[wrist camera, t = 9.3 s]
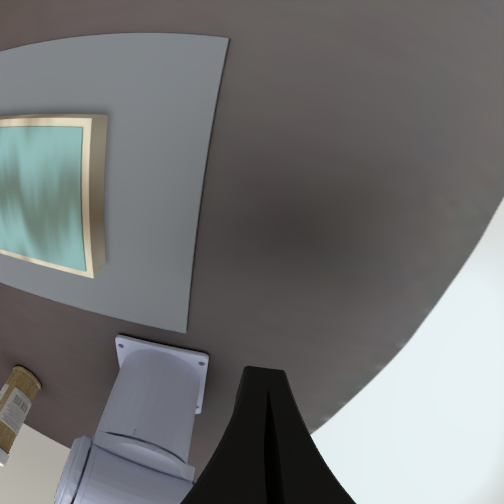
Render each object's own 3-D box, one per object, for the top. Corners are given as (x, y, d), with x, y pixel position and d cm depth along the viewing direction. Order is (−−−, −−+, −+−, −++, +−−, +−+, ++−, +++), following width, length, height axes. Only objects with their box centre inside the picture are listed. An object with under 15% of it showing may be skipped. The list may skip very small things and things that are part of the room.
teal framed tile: (92, 279, 18) (-16, 249, 17) (105, 262, 20) (-1, 237, 19) (90, 118, 13) (-30, 122, 12) (108, 114, 15) (-10, 116, 14)
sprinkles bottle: (9, 361, 28) (-35, 438, 16) (33, 369, 28) (-12, 454, 16) (24, 383, 30) (-14, 458, 18) (47, 391, 30) (10, 472, 18)
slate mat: (186, 330, 23) (185, 333, 23) (-18, 272, 21) (-20, 274, 21) (229, 39, 13) (228, 38, 13) (-33, 62, 12) (-36, 62, 12)
